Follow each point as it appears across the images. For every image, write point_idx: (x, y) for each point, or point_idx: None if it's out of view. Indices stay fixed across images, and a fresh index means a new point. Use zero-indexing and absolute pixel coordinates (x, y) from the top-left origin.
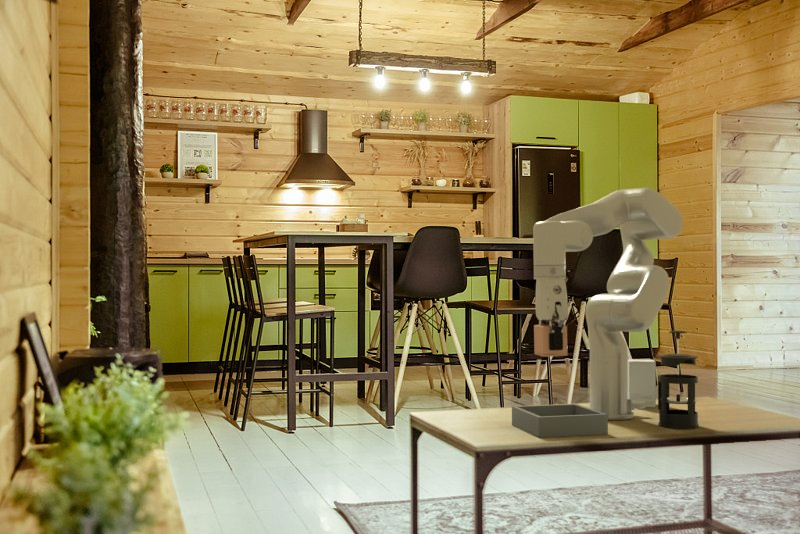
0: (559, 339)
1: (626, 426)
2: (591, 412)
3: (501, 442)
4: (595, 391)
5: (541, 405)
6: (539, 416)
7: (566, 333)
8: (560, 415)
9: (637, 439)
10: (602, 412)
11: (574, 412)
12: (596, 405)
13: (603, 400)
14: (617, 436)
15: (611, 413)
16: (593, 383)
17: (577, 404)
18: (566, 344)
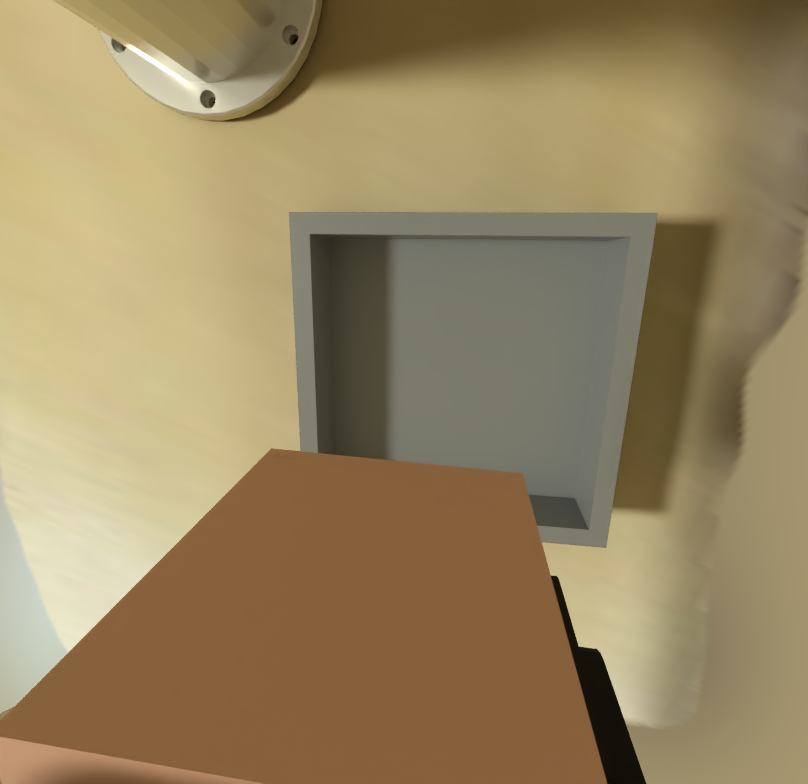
0: (619, 734)
1: (476, 31)
2: (507, 236)
3: (619, 641)
4: (166, 20)
5: (304, 397)
6: (585, 534)
7: (576, 680)
8: (327, 305)
9: (792, 149)
10: (259, 46)
11: (323, 236)
12: (218, 55)
13: (233, 8)
14: (688, 205)
15: (280, 1)
16: (117, 2)
17: (309, 215)
18: (537, 550)
